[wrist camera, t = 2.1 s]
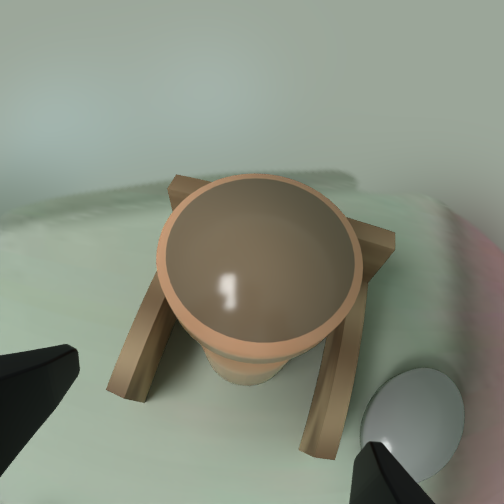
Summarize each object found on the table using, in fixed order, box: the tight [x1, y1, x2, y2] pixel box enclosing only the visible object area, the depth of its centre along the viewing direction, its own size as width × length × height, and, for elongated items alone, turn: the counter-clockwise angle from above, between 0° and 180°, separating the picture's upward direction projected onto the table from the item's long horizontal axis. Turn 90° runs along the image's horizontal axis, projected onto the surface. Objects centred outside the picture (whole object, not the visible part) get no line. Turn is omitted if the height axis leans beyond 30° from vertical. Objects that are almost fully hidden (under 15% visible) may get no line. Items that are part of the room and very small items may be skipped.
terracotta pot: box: [156, 174, 363, 386], centre depth 14 cm, size 6×6×13 cm
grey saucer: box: [360, 368, 465, 483], centre depth 16 cm, size 9×9×1 cm
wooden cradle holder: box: [106, 175, 395, 460], centre depth 16 cm, size 12×13×8 cm
